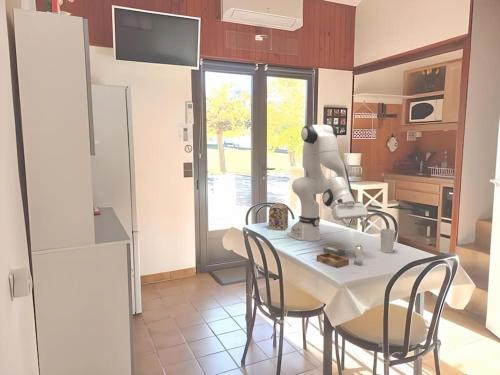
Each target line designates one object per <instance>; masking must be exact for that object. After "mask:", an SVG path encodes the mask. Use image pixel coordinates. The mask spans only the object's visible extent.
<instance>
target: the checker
mask: <svg viewBox="0 0 500 375" xmlns="http://www.w3.org/2000/svg"><path fill="white" fill-rule="evenodd" d="M322 250H323V251H322V252H323V254H324V253H331V254H334V255H338V256H344V255H345V254H346V250H345V249H344V248H342V247H336V246H335V245H334V246H333V245H330V246H327V247H323V249H322Z"/></svg>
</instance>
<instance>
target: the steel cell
mask: <svg viewBox="0 0 500 375" xmlns="http://www.w3.org/2000/svg"><path fill="white" fill-rule="evenodd" d="M363 254H364V246H363V245H361V244H357V245H355V246H354V258H353V260H354V261H353V264H354V265H356V266H363V262H364V261H363V258H364V256H363Z"/></svg>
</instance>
